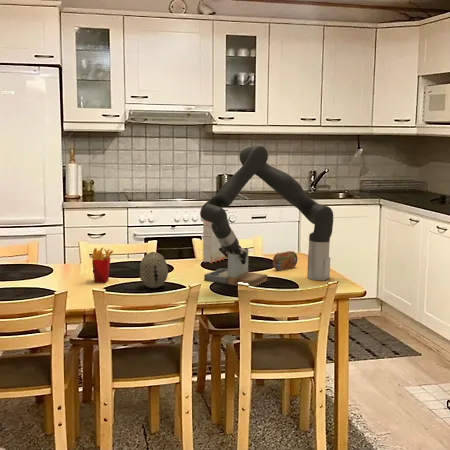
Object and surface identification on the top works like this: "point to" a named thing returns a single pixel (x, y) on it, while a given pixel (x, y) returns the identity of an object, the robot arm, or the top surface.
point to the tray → (216, 276)
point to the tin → (285, 260)
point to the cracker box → (211, 244)
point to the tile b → (224, 274)
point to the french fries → (101, 265)
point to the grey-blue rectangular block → (236, 266)
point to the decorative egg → (153, 270)
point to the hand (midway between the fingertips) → (240, 262)
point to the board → (248, 279)
